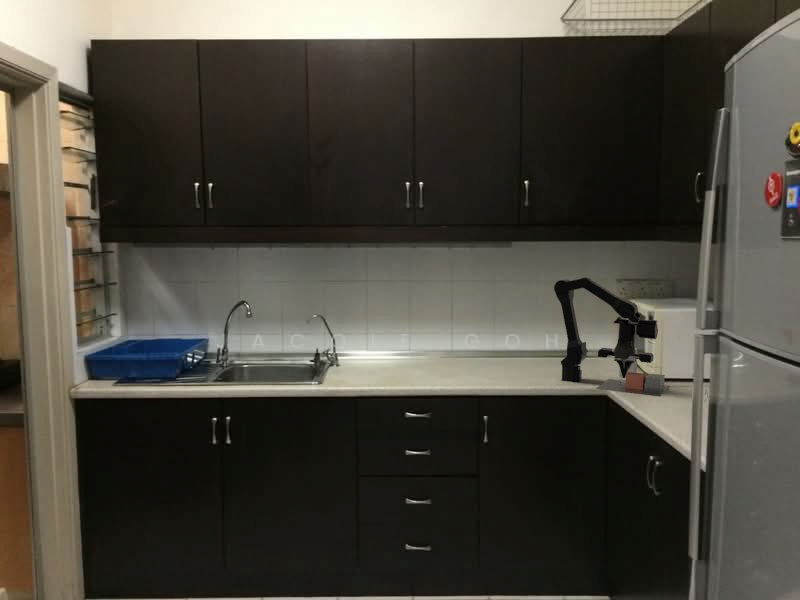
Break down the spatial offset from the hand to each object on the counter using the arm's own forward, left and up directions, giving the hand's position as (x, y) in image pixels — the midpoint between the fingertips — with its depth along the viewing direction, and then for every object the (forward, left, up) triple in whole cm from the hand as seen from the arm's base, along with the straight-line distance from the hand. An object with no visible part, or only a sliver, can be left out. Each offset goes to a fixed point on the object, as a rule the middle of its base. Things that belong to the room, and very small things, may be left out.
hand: (623, 378), depth 236 cm
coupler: (+3, 0, -4) cm, 5 cm away
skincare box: (-3, +19, -4) cm, 20 cm away
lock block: (+4, 0, -3) cm, 5 cm away
